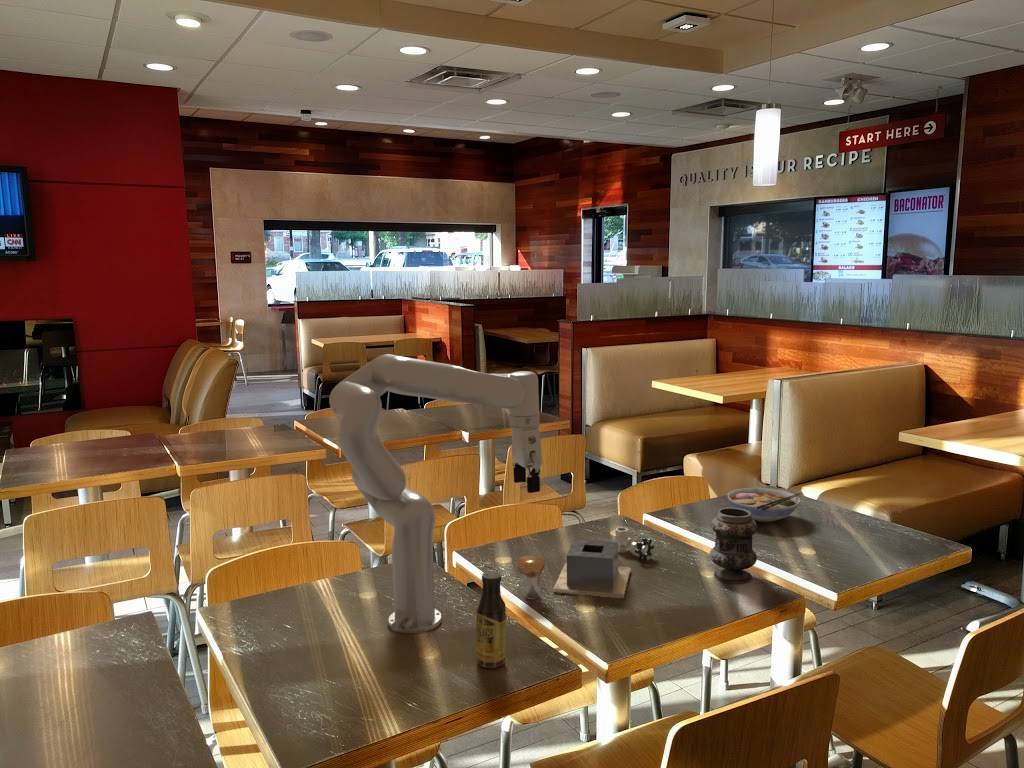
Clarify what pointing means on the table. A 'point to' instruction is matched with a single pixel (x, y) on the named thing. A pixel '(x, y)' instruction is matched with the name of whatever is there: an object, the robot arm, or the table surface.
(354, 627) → the table surface
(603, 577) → the block
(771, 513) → the ramen bowl
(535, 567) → the pin
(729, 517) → the apothecary jar
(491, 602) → the sauce bottle
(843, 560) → the table surface
